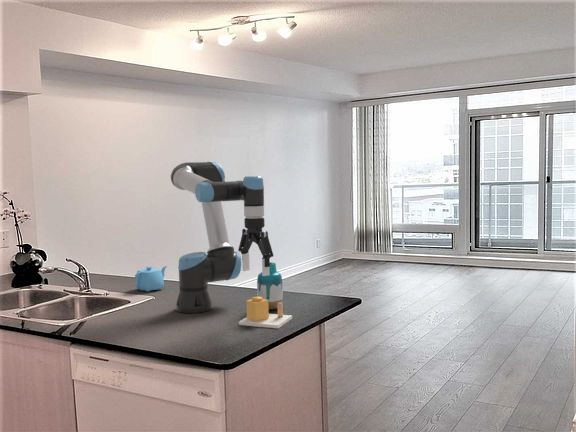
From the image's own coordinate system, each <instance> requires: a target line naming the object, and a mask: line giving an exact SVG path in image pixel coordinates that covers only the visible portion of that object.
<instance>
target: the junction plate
mask: <svg viewBox="0 0 576 432" xmlns="http://www.w3.org/2000/svg"><path fill="white" fill-rule="evenodd" d="M283 303H284V302H283V301H282V302H279V303H277V307H278V308H277V313H276V314H275V313H269V319H264V320H260V321H253V320H250V319H248V318H247V316H246V317H244V318H243V319H241V320H240V321H238V325H239V326H247V327H248V326H249V327H256V328H257V327H259V328H269V329H280V328H281V327H283V326H284V325H285V324H287V323H288V322H290V321H291V320H293V315H290V314H289V315H288V314H284V312H283V311H284V310H283V309H284V306H283Z"/></svg>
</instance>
